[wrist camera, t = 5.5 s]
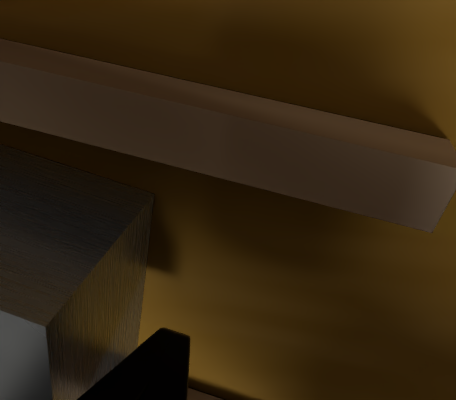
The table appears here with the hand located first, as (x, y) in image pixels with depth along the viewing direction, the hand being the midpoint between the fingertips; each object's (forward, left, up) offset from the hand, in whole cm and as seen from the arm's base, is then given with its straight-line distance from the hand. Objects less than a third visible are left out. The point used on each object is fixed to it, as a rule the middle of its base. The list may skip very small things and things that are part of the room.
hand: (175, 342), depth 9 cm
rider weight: (0, +4, -2) cm, 4 cm away
